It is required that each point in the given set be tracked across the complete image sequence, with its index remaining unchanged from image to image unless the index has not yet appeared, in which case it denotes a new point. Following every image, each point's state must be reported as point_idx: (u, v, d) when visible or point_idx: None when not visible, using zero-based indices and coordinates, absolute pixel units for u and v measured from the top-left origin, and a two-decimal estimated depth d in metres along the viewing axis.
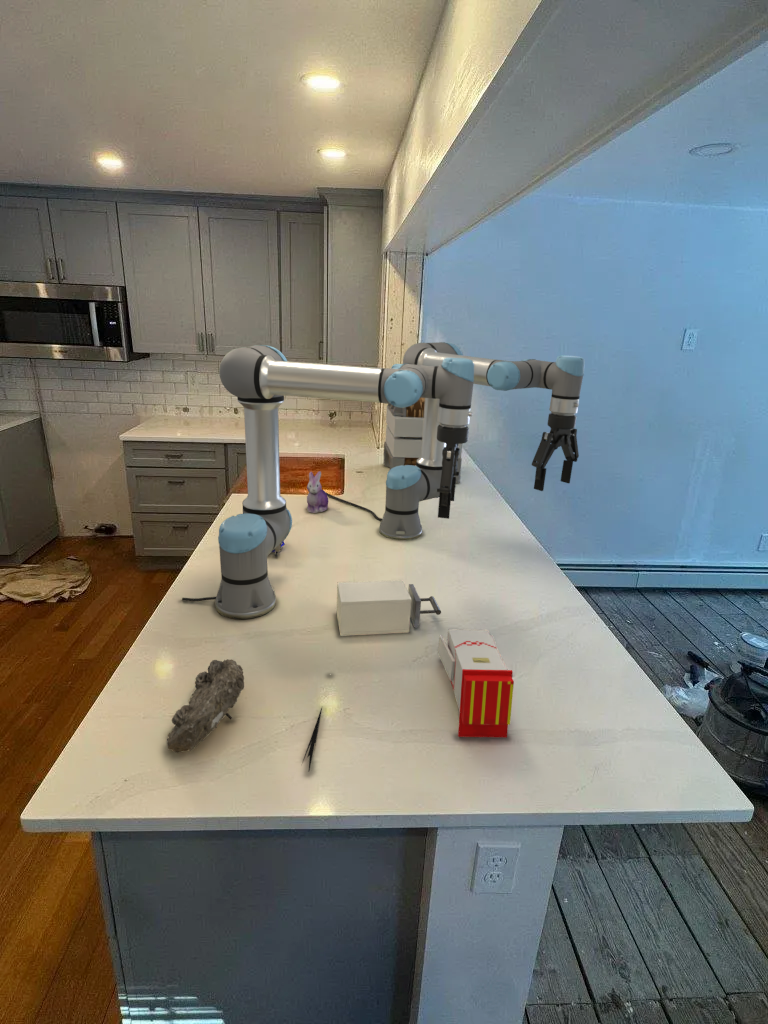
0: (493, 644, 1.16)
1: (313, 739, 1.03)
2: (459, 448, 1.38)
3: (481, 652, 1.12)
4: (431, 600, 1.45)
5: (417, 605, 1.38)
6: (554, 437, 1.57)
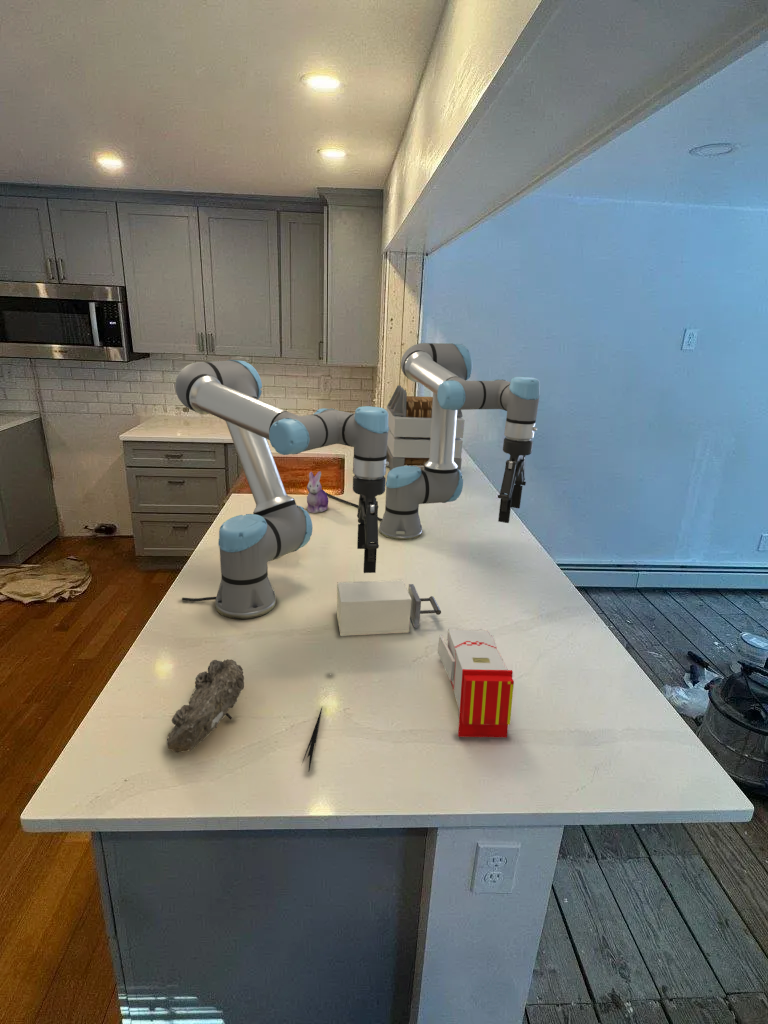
0: (493, 644, 1.16)
1: (313, 739, 1.03)
2: None
3: (481, 652, 1.12)
4: (431, 600, 1.45)
5: (417, 605, 1.38)
6: (515, 465, 1.47)
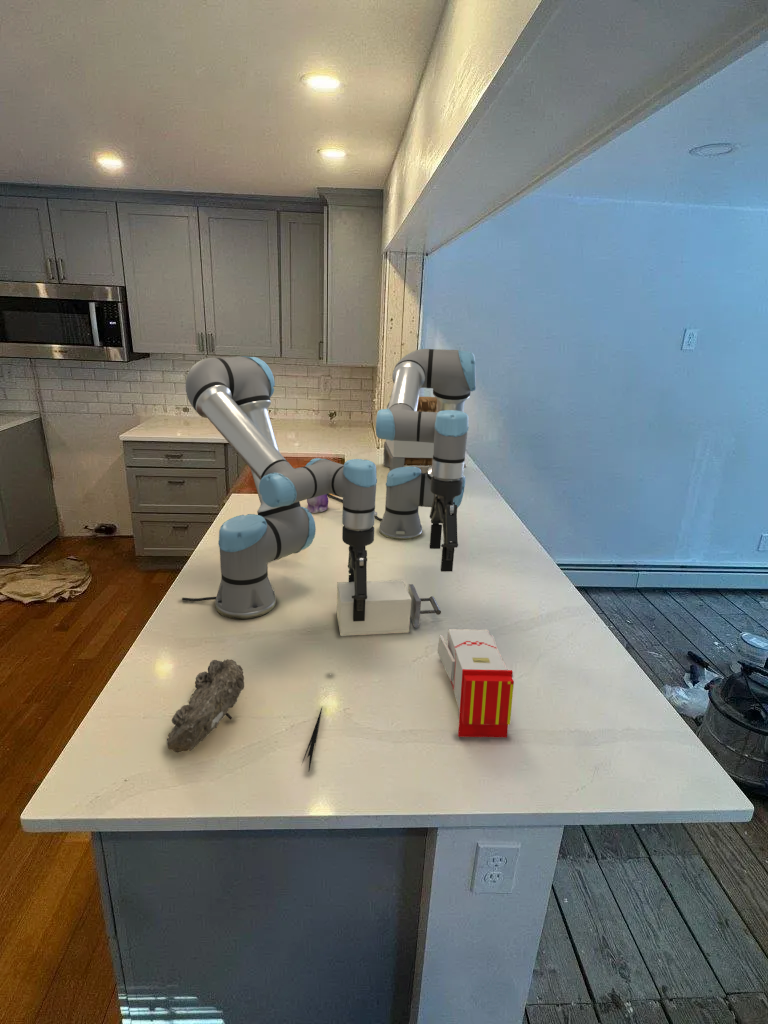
0: (493, 644, 1.16)
1: (313, 739, 1.03)
2: (364, 546, 1.36)
3: (481, 652, 1.12)
4: (431, 600, 1.45)
5: (417, 605, 1.38)
6: None
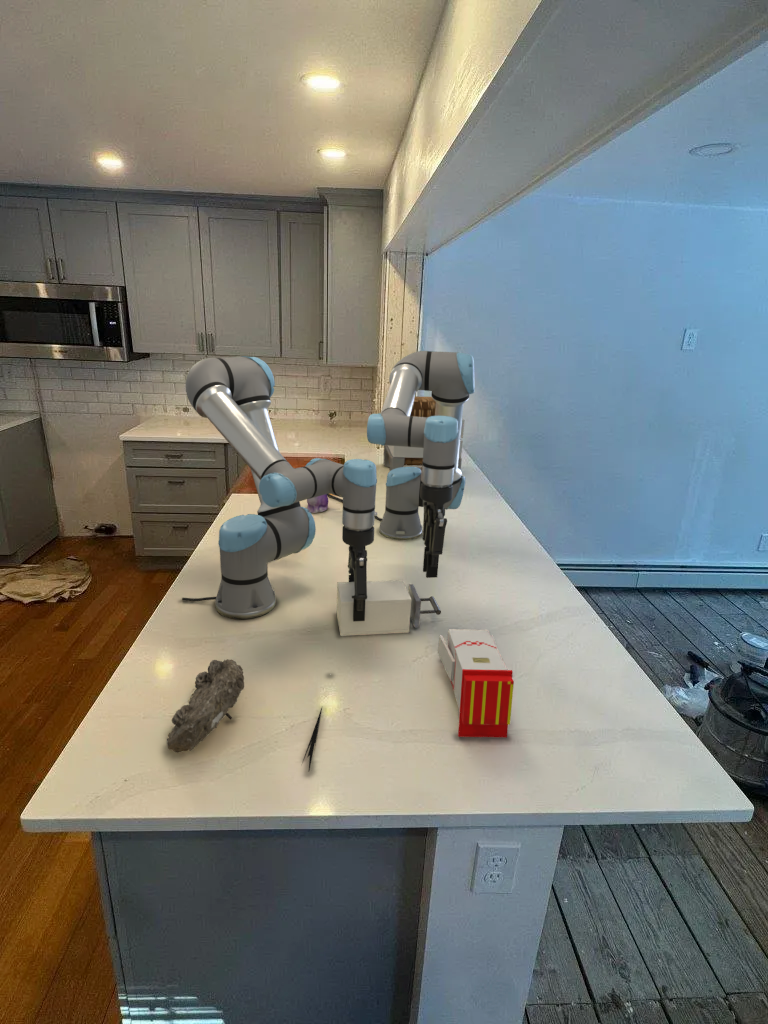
0: (493, 644, 1.16)
1: (313, 739, 1.03)
2: (364, 546, 1.36)
3: (481, 652, 1.12)
4: (431, 600, 1.45)
5: (417, 605, 1.38)
6: (442, 514, 1.31)
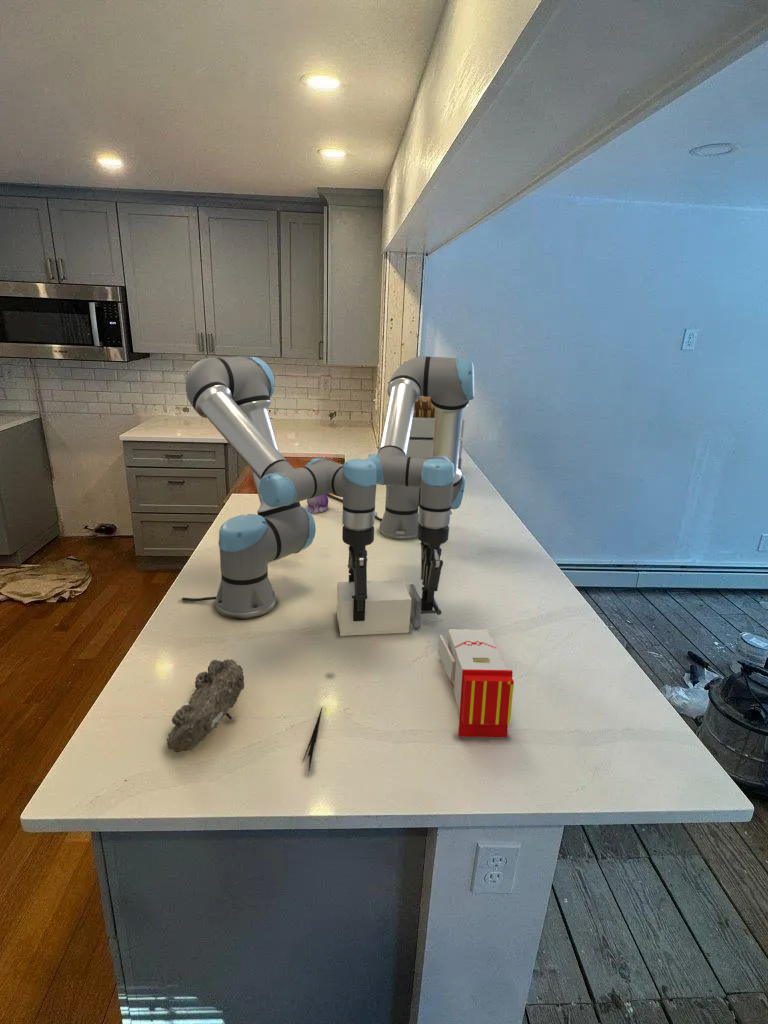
0: (493, 644, 1.16)
1: (313, 739, 1.03)
2: None
3: (481, 652, 1.12)
4: None
5: (418, 605, 1.38)
6: (439, 554, 1.35)
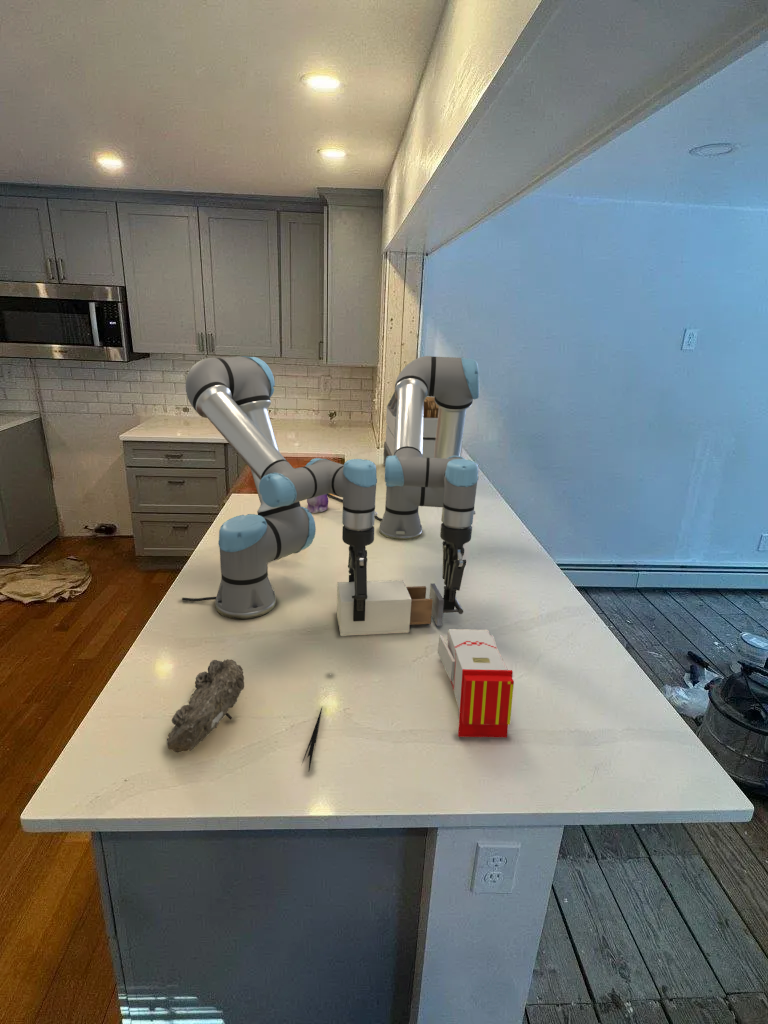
0: (493, 644, 1.16)
1: (313, 739, 1.03)
2: None
3: (481, 652, 1.12)
4: None
5: (440, 604, 1.39)
6: (462, 554, 1.36)
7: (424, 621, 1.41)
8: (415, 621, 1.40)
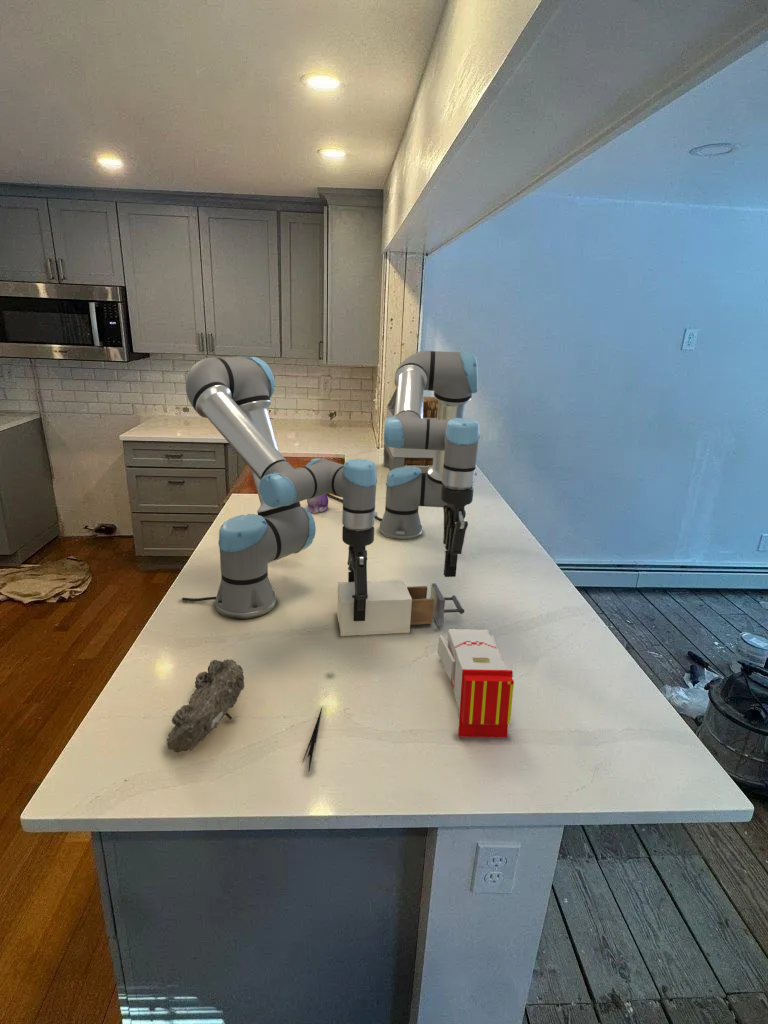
0: (493, 644, 1.16)
1: (313, 739, 1.03)
2: None
3: (481, 652, 1.12)
4: (454, 599, 1.46)
5: (441, 604, 1.39)
6: (463, 516, 1.32)
7: (425, 621, 1.41)
8: (416, 621, 1.40)
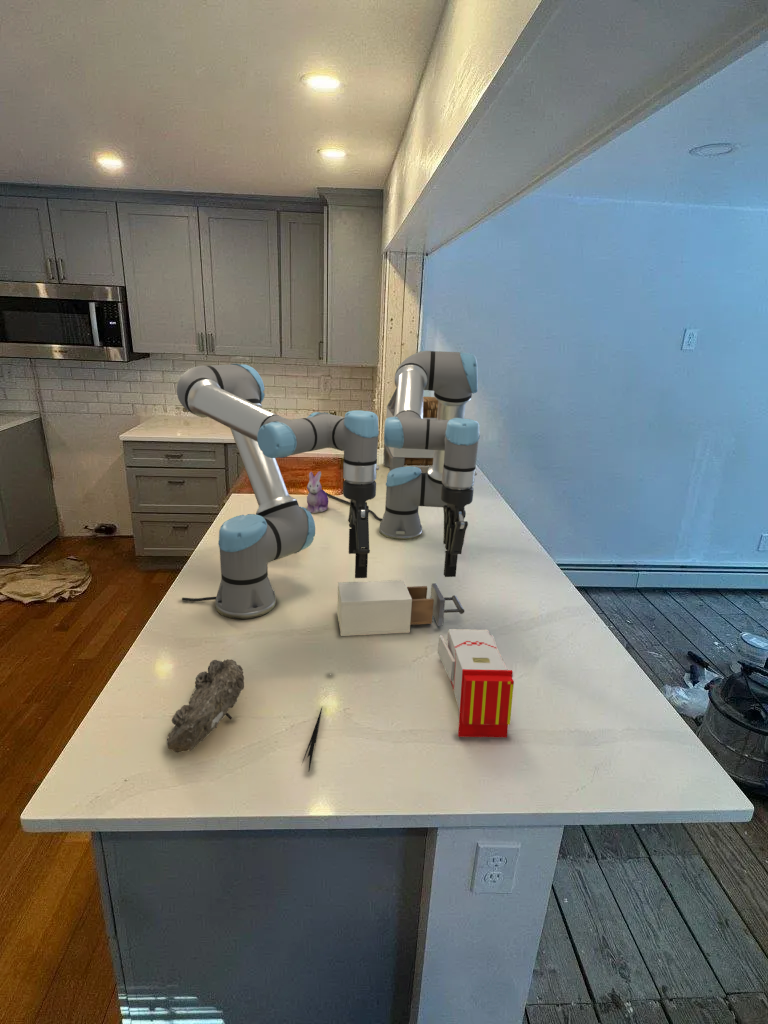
0: (493, 644, 1.16)
1: (313, 739, 1.03)
2: (366, 502, 1.33)
3: (481, 652, 1.12)
4: (454, 599, 1.46)
5: (441, 604, 1.39)
6: (463, 516, 1.32)
7: (425, 621, 1.41)
8: (416, 621, 1.40)
